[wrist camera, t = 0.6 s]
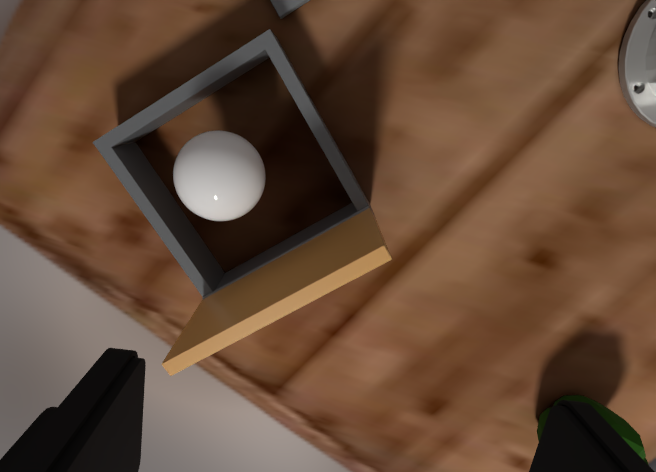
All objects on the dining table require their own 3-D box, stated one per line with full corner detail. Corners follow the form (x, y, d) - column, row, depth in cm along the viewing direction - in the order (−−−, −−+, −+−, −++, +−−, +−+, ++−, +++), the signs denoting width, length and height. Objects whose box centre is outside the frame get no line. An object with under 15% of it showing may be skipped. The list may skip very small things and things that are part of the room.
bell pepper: (618, 390, 46) (694, 466, 36) (588, 454, 48) (652, 541, 39) (540, 374, 45) (597, 448, 36) (514, 440, 48) (560, 525, 38)
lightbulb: (282, 132, 39) (265, 144, 28) (271, 203, 40) (251, 239, 30) (209, 118, 38) (163, 124, 28) (201, 190, 40) (155, 222, 29)
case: (276, 37, 36) (244, -2, 22) (370, 205, 40) (392, 260, 26) (119, 137, 39) (1, 158, 25) (222, 287, 43) (171, 377, 29)
